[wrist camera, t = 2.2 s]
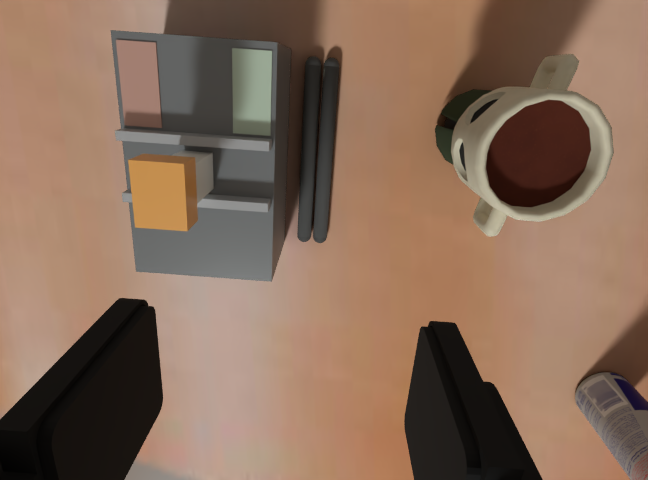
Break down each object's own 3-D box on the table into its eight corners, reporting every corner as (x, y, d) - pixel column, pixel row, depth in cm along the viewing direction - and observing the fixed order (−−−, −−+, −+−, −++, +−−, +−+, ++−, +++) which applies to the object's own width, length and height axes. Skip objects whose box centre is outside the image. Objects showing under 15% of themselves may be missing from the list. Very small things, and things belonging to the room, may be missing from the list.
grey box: (162, 40, 33) (100, 28, 24) (291, 49, 33) (274, 40, 24) (175, 233, 39) (128, 278, 30) (284, 241, 39) (269, 289, 30)
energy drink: (627, 406, 44) (725, 519, 33) (574, 415, 45) (652, 528, 34) (627, 365, 42) (731, 470, 31) (571, 375, 43) (654, 481, 32)
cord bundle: (306, 56, 33) (305, 55, 32) (339, 58, 33) (340, 57, 32) (297, 238, 38) (296, 243, 37) (326, 240, 38) (326, 245, 37)
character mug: (457, 45, 32) (529, 28, 20) (543, 73, 33) (663, 73, 21) (407, 180, 36) (442, 234, 24) (485, 203, 37) (558, 267, 25)
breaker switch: (175, 140, 27) (128, 159, 21) (218, 143, 27) (183, 163, 21) (178, 194, 29) (134, 227, 23) (219, 197, 29) (187, 231, 23)
